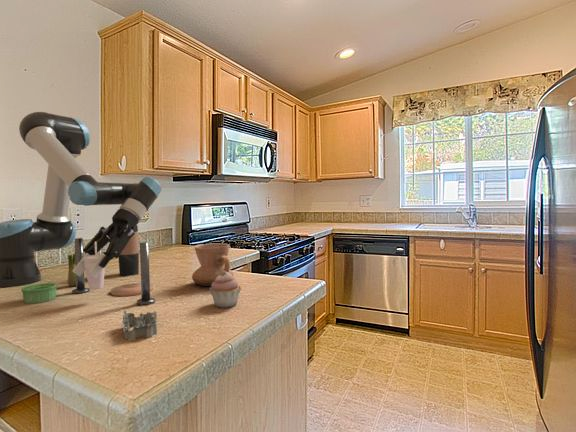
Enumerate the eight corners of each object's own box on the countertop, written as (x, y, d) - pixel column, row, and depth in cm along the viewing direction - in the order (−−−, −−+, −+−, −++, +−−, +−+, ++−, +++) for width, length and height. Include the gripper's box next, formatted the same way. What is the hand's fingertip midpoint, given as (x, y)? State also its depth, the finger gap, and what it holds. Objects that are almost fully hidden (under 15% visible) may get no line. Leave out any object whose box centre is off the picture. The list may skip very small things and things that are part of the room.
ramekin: (54, 294, 113) (53, 281, 113) (60, 299, 107) (60, 285, 107) (19, 300, 107) (19, 286, 107) (24, 306, 101) (23, 291, 101)
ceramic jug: (183, 283, 126) (182, 244, 125) (217, 277, 136) (217, 241, 135) (208, 293, 113) (207, 250, 112) (245, 285, 123) (244, 245, 122)
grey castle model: (123, 326, 85) (123, 310, 84) (156, 322, 88) (155, 306, 87) (121, 343, 75) (120, 324, 75) (158, 337, 78) (157, 319, 78)
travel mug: (142, 272, 146) (141, 225, 145) (133, 276, 138) (131, 226, 137) (125, 272, 147) (124, 225, 146) (115, 276, 139) (113, 226, 138)
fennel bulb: (70, 288, 121) (68, 254, 120) (64, 286, 124) (63, 253, 123) (87, 284, 125) (86, 252, 125) (82, 283, 128) (80, 250, 128)
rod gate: (68, 292, 115) (66, 239, 114) (83, 289, 119) (81, 237, 118) (145, 306, 100) (143, 244, 99) (158, 301, 104) (156, 242, 103)
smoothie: (113, 286, 106) (110, 240, 105) (95, 291, 100) (92, 243, 99) (97, 284, 108) (95, 240, 107) (78, 290, 102) (76, 243, 101)
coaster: (102, 293, 114) (101, 290, 113) (134, 284, 125) (134, 281, 125) (130, 298, 108) (129, 294, 108) (161, 288, 120) (161, 285, 120)
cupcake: (206, 302, 103) (205, 269, 102) (237, 298, 106) (236, 266, 106) (212, 311, 94) (211, 275, 94) (245, 307, 98) (245, 272, 97)
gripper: (157, 223, 112) (115, 285, 99) (116, 222, 121) (72, 278, 107) (143, 207, 107) (97, 270, 94) (101, 207, 116) (53, 265, 102)
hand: (84, 274), depth 100 cm, fingers closed on smoothie, 6 cm apart
